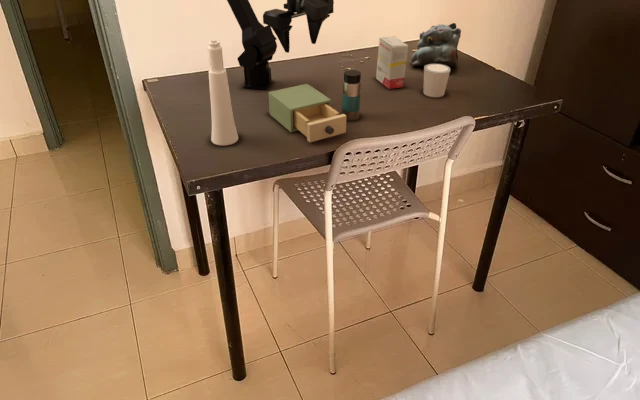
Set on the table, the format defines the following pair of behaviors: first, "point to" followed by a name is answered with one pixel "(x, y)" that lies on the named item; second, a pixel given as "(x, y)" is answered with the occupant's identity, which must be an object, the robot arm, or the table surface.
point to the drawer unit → (293, 103)
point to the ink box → (391, 62)
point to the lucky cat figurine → (438, 46)
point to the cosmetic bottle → (220, 99)
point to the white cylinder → (435, 79)
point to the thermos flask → (351, 94)
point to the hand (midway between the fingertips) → (300, 47)
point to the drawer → (319, 122)
